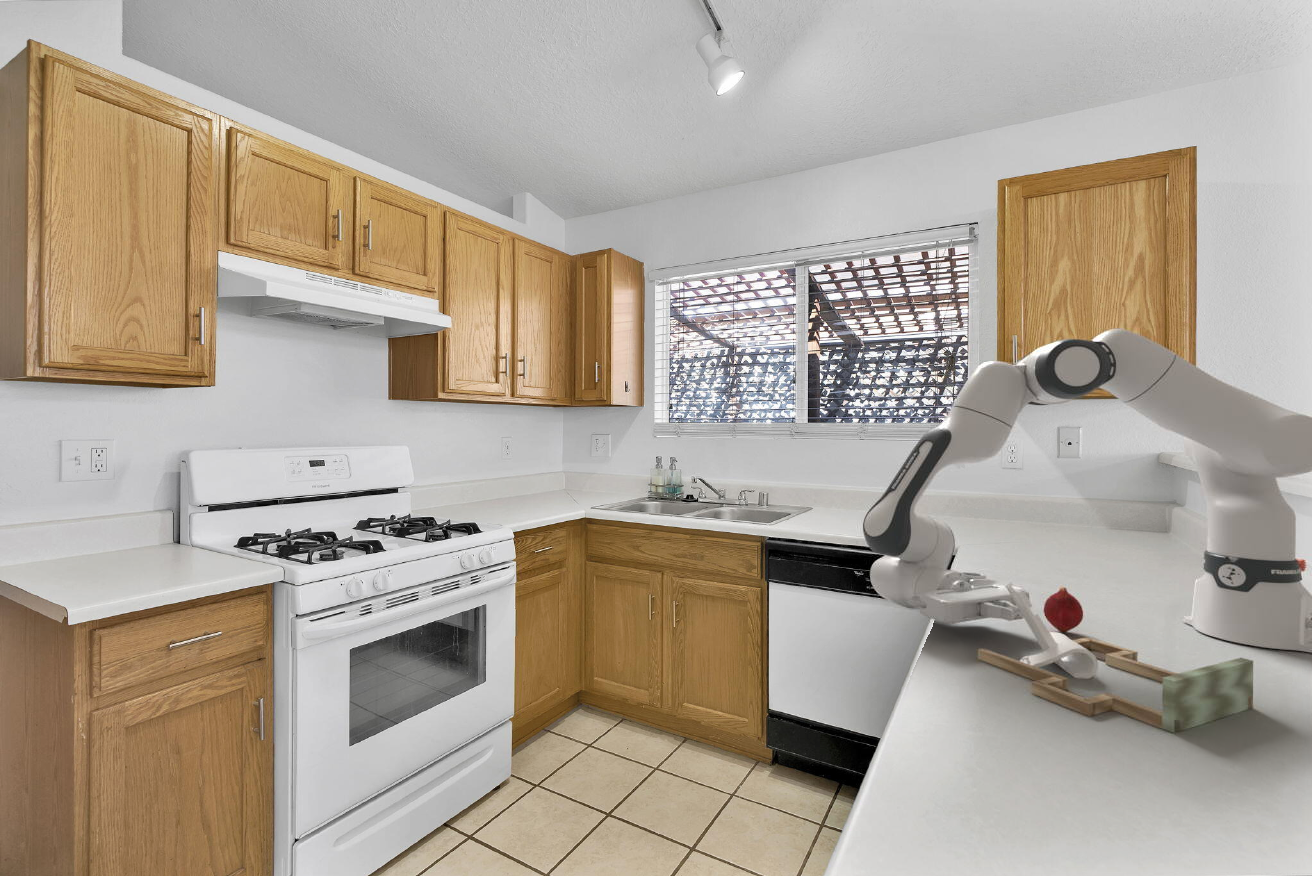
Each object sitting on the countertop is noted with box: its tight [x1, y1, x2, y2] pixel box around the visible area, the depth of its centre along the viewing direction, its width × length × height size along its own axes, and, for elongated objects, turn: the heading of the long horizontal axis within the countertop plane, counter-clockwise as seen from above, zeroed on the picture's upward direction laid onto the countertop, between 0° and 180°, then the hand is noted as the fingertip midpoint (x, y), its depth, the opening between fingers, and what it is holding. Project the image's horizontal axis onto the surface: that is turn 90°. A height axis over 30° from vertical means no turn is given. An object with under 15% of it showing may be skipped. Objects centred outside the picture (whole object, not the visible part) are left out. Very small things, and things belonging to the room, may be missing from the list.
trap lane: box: [977, 636, 1254, 734], centre depth 87 cm, size 27×26×6 cm
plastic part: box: [1006, 582, 1099, 680], centre depth 92 cm, size 8×10×12 cm
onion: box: [1043, 586, 1084, 634], centre depth 109 cm, size 6×6×8 cm
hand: (1018, 614), depth 98 cm, fingers closed
